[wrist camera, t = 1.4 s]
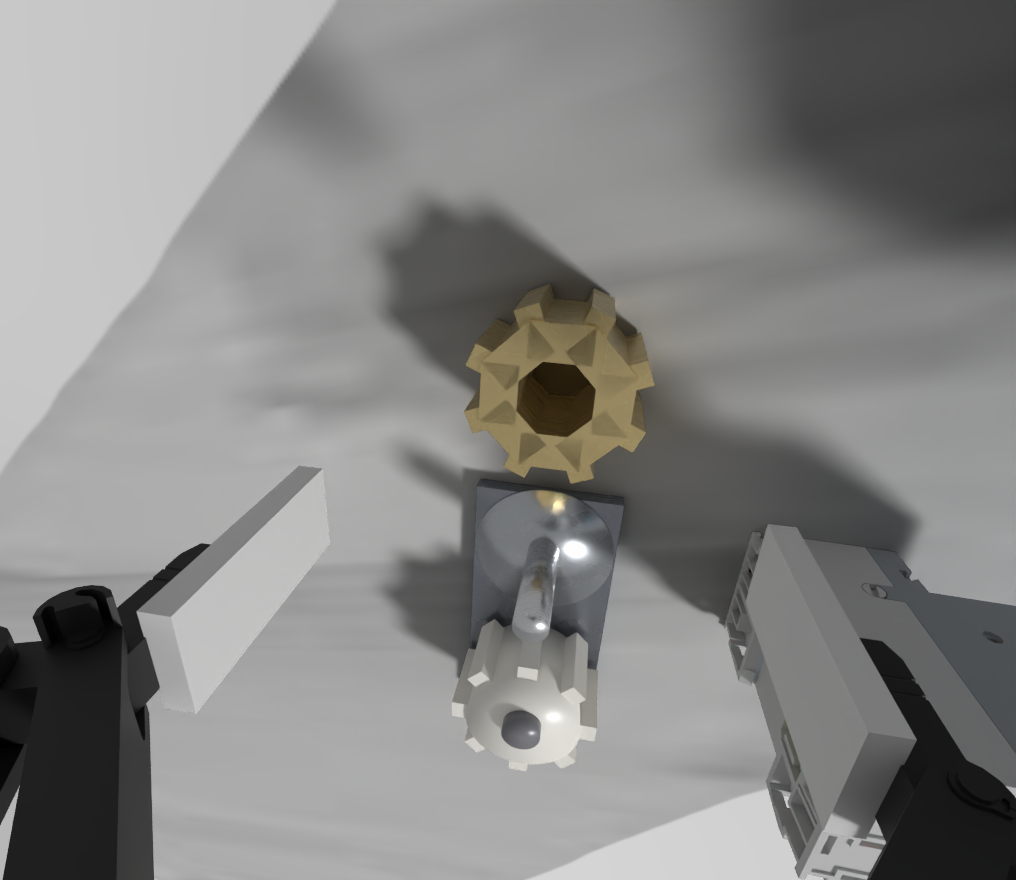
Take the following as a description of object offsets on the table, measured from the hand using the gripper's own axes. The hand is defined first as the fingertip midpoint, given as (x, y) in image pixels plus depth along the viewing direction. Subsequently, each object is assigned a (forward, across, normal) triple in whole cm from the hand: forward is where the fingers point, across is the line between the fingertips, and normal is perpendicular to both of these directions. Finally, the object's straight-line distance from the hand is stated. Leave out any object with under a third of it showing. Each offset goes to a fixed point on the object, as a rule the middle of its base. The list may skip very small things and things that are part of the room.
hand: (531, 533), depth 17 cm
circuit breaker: (+17, +19, -13) cm, 29 cm away
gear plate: (+17, 0, -17) cm, 23 cm away
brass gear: (+17, 0, 0) cm, 17 cm away
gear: (+15, 0, -21) cm, 26 cm away
